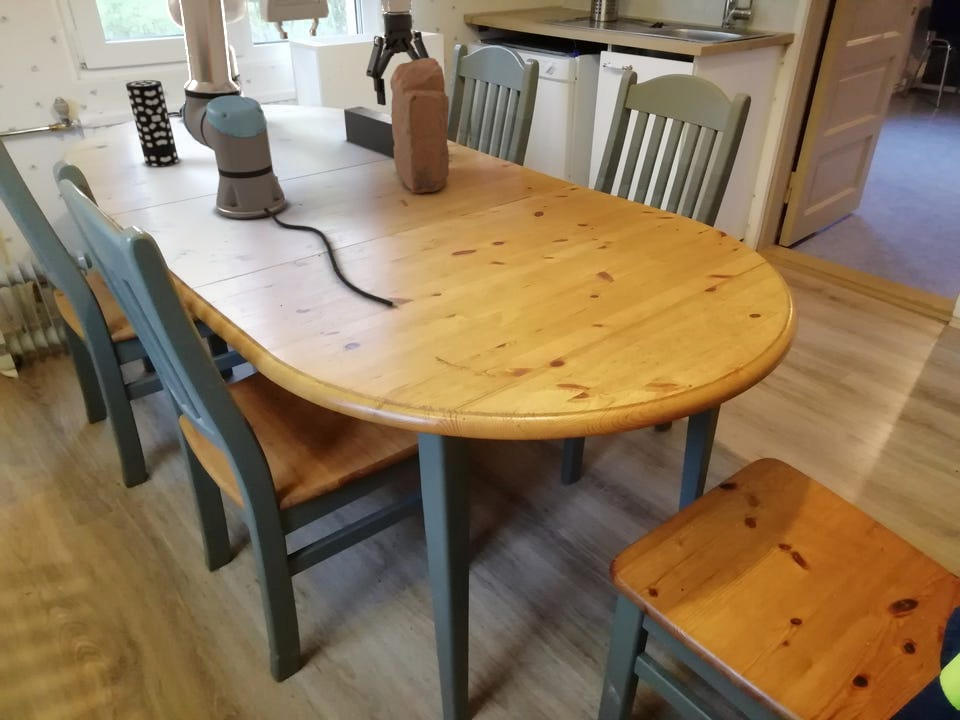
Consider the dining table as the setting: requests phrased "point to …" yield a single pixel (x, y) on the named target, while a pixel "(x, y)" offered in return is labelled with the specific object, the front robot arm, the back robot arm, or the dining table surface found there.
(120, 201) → the dining table surface
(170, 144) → the black white spotted cylinder
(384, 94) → the front robot arm
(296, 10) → the back robot arm
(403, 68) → the stone
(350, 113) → the bar
